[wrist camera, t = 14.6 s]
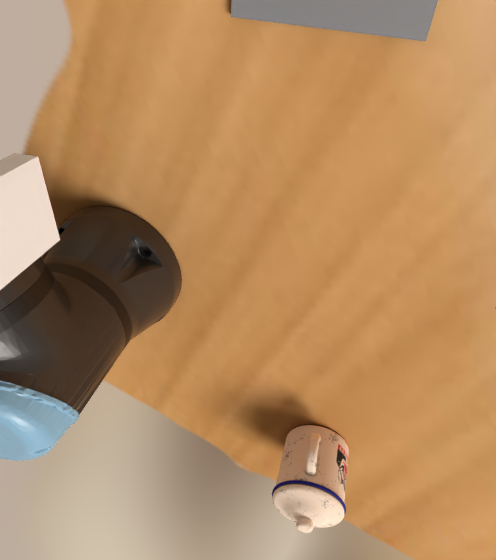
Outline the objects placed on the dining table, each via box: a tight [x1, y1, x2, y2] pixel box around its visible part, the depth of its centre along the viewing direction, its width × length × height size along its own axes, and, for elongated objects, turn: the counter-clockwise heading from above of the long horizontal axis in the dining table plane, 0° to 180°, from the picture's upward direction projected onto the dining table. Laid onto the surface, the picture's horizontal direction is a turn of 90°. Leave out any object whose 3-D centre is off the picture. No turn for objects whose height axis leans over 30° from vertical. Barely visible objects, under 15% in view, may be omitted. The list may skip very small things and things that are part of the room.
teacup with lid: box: [272, 425, 349, 533], centre depth 54 cm, size 12×9×12 cm
